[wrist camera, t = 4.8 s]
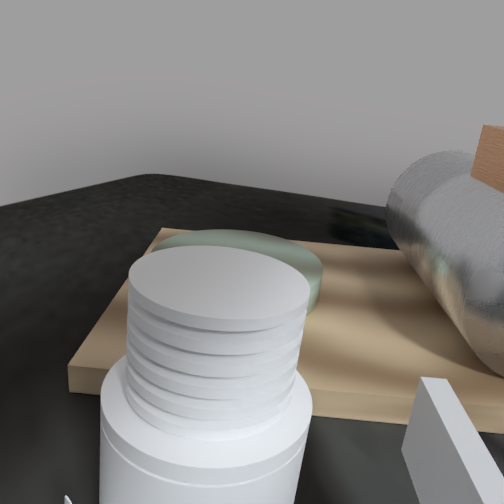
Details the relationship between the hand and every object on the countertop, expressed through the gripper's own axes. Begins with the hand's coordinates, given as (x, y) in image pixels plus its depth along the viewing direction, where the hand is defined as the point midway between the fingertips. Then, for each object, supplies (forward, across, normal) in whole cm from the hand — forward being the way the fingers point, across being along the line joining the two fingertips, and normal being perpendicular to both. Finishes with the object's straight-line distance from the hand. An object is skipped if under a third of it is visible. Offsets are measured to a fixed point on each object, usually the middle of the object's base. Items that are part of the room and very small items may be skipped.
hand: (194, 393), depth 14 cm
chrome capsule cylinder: (+17, +16, -4) cm, 24 cm away
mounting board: (+16, +7, -6) cm, 19 cm away
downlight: (-1, 0, -6) cm, 6 cm away
